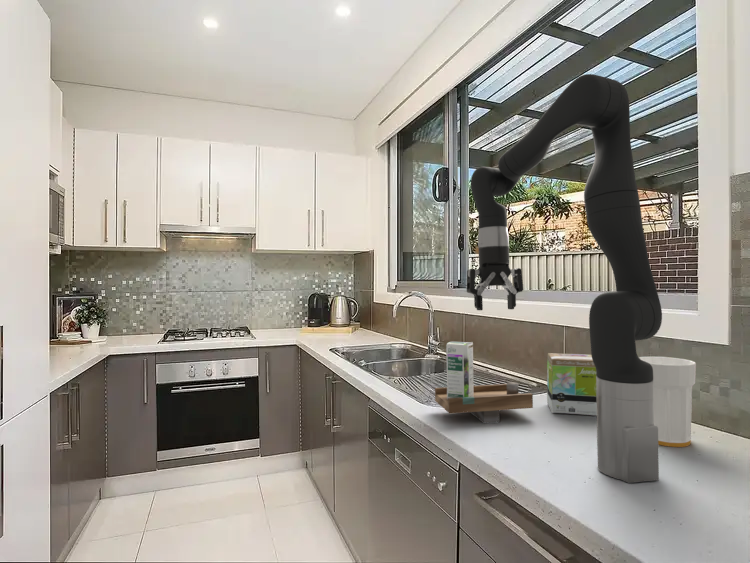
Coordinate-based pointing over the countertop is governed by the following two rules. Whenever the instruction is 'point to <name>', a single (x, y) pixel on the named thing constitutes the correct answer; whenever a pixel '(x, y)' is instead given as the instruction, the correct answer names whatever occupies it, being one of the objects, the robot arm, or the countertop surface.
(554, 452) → the countertop surface
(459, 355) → the syrup box
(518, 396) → the beam
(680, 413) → the cup
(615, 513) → the countertop surface
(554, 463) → the countertop surface
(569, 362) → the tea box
